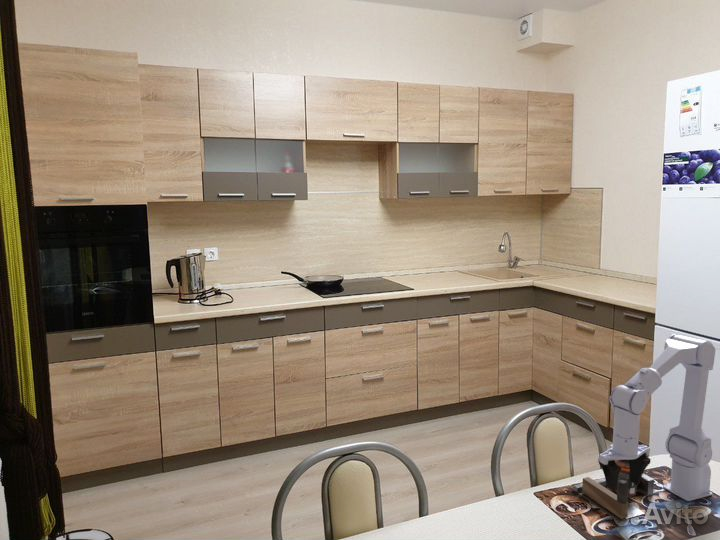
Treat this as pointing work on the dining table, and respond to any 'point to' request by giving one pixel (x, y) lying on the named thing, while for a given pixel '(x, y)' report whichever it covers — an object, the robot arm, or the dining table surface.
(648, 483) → the vice frame
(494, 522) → the dining table surface
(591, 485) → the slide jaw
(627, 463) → the supplement bottle
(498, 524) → the dining table surface
